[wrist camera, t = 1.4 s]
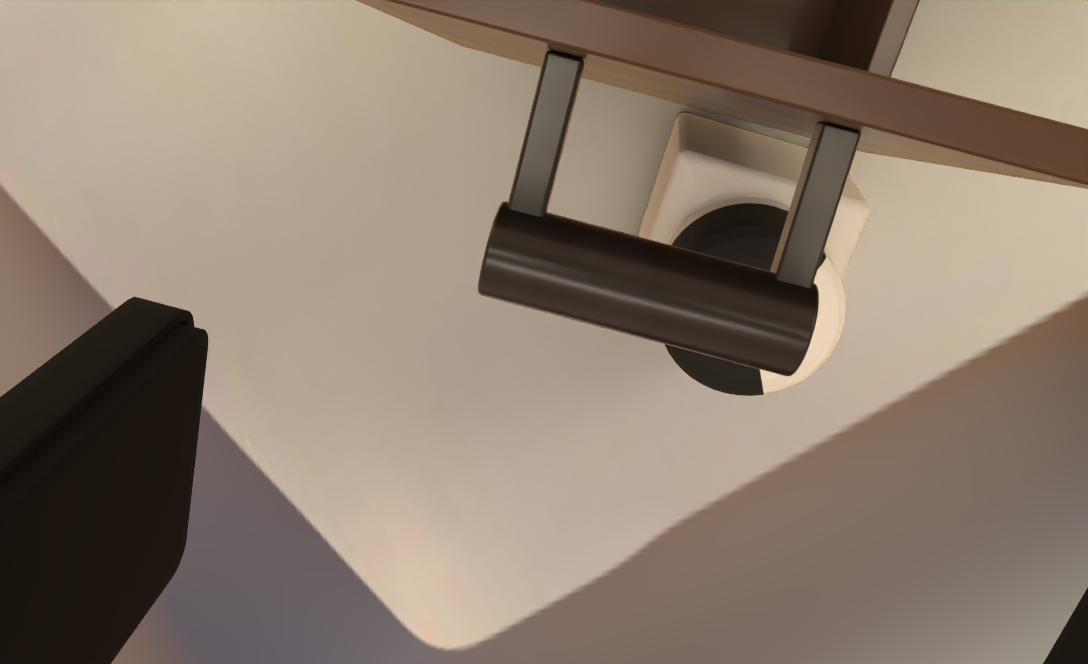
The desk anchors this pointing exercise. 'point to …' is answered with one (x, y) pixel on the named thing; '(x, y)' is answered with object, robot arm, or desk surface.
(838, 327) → the medicine bottle
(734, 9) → the chest
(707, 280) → the lid
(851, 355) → the desk surface
